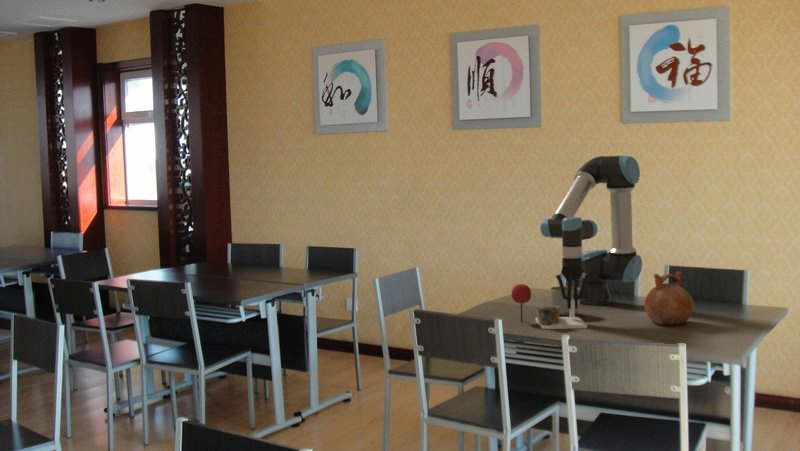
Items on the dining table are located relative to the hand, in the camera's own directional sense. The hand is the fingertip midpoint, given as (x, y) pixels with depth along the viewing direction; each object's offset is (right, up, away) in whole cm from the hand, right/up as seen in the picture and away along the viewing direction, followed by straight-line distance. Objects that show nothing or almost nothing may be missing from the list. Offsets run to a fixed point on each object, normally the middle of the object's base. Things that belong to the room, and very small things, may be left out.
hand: (572, 316), depth 320 cm
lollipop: (-19, -3, +4) cm, 20 cm away
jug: (+36, -2, -4) cm, 37 cm away
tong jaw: (-10, -1, -3) cm, 10 cm away
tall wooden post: (-12, -3, -2) cm, 12 cm away
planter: (0, -1, +16) cm, 16 cm away
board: (-5, -3, -3) cm, 6 cm away
